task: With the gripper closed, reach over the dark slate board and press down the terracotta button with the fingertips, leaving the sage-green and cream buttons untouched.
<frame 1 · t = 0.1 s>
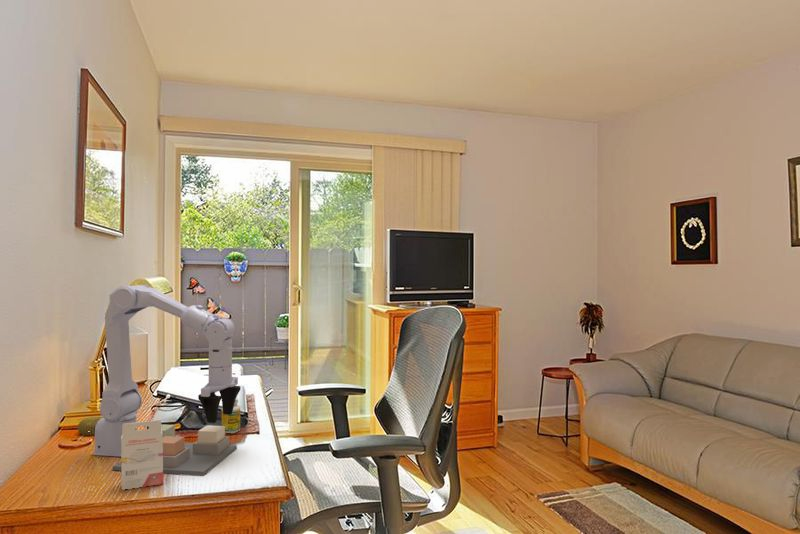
hand: (219, 418, 145), 10 cm above the table, tool pointing down, fingers open, 7 cm apart
supplement bottle: (230, 431, 166), on the table
cream button: (211, 435, 147), point 5 cm above the table, slide at 0.0 cm
terracotta button: (169, 446, 138), point 5 cm above the table, slide at 0.0 cm
board: (178, 459, 143), on the table
sculpture: (93, 433, 164), on the table
sage button: (160, 434, 148), point 5 cm above the table, slide at 0.0 cm
ink cartridge box: (142, 484, 127), on the table
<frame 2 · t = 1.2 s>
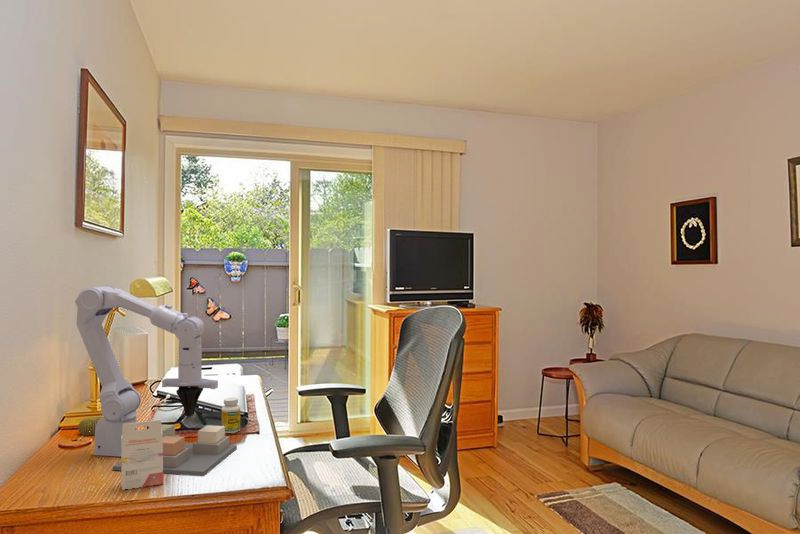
hand: (189, 415, 148), 10 cm above the table, tool pointing down, fingers closed
nothing on the table moved.
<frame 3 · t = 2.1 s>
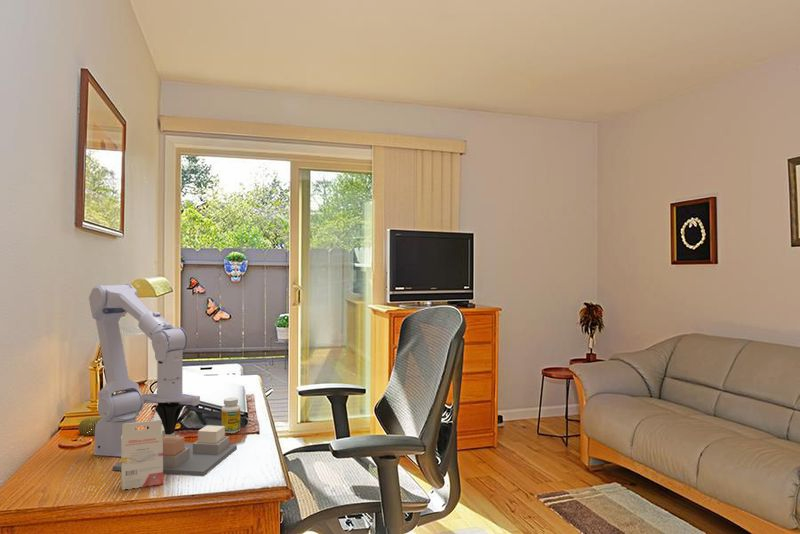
hand: (169, 433, 138), 8 cm above the table, tool pointing down, fingers closed
nothing on the table moved.
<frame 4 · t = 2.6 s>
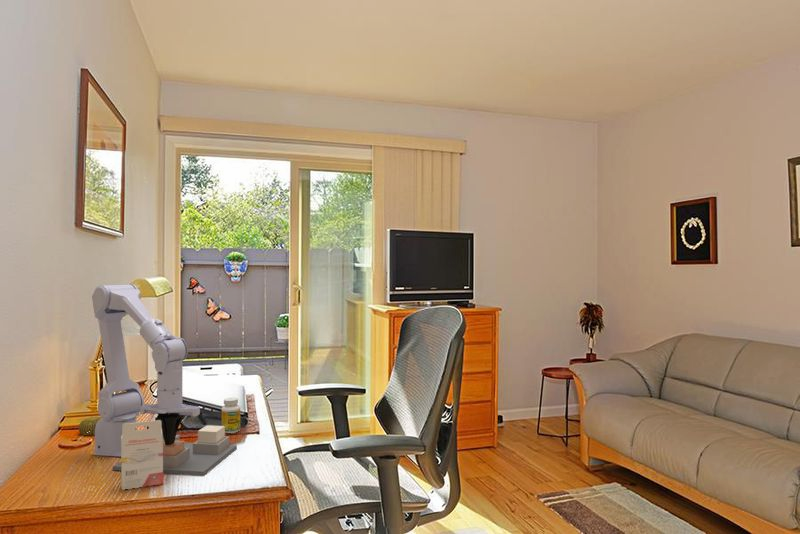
hand: (169, 443, 138), 6 cm above the table, tool pointing down, fingers closed, pressing on terracotta button
terracotta button: (169, 450, 138), point 4 cm above the table, slide at 1.0 cm, touching gripper
everything else where it was.
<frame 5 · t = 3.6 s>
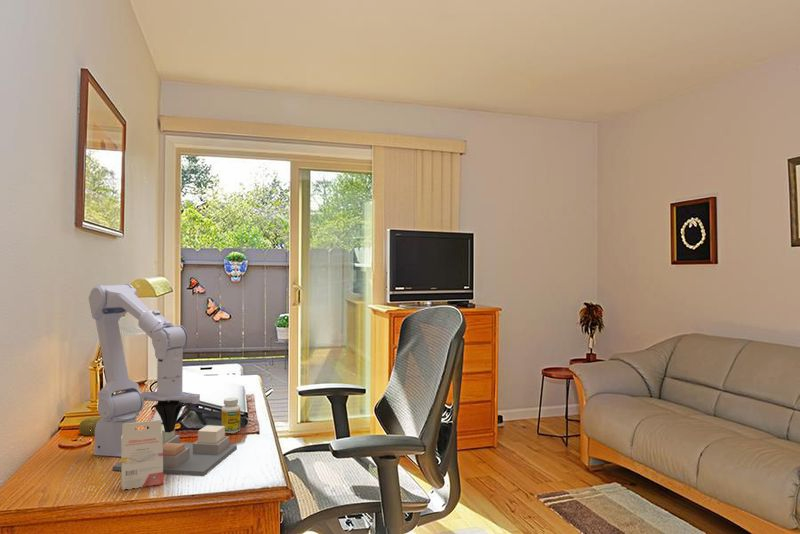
hand: (169, 431, 138), 9 cm above the table, tool pointing down, fingers closed
terracotta button: (169, 453, 138), point 3 cm above the table, slide at 1.7 cm
everything else where it was.
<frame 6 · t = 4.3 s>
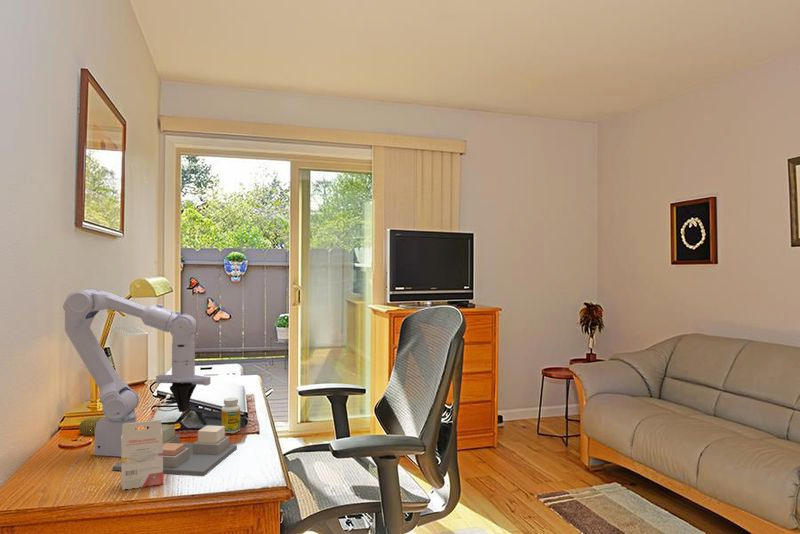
hand: (183, 410, 150), 10 cm above the table, tool pointing down, fingers closed
nothing on the table moved.
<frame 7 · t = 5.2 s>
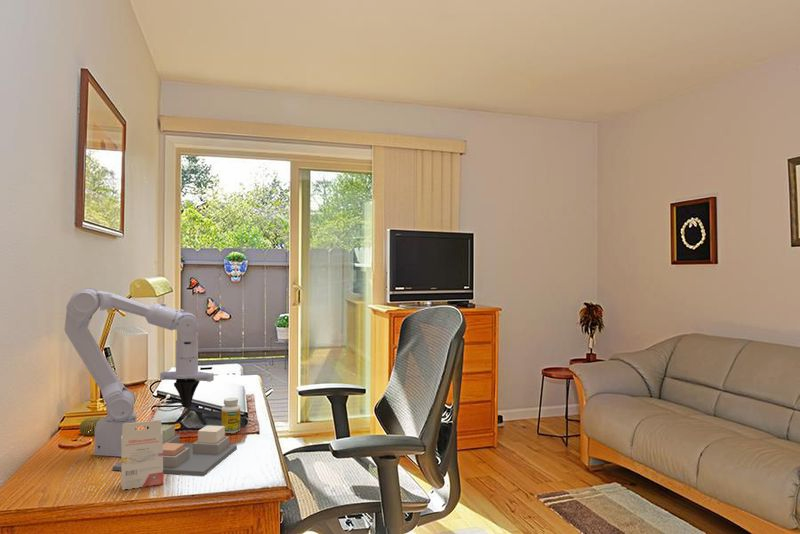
hand: (186, 406, 154), 10 cm above the table, tool pointing down, fingers closed
nothing on the table moved.
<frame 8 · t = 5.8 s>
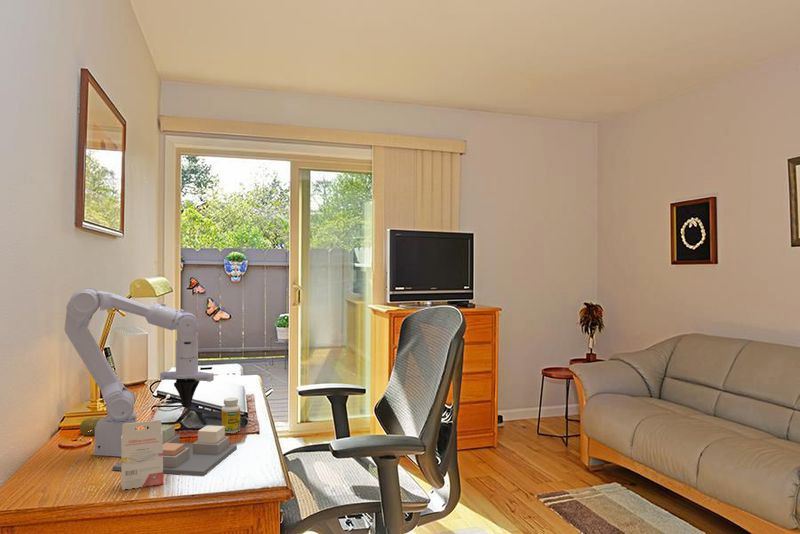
hand: (186, 406, 154), 10 cm above the table, tool pointing down, fingers closed
nothing on the table moved.
at the end: terracotta button slide at 1.7 cm; sage button slide at 0.0 cm; cream button slide at 0.0 cm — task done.
